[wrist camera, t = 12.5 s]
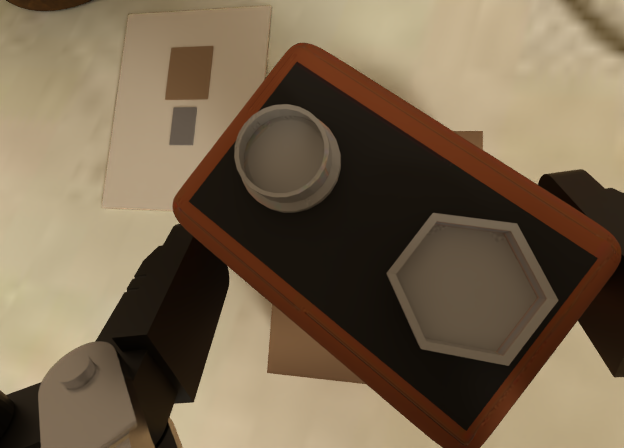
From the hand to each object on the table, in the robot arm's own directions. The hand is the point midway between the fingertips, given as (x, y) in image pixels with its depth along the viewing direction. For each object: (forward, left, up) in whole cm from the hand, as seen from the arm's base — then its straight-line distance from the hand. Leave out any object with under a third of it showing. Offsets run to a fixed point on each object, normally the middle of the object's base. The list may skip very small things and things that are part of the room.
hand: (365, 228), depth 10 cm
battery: (0, 0, -6) cm, 6 cm away
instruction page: (-8, -11, -10) cm, 17 cm away
